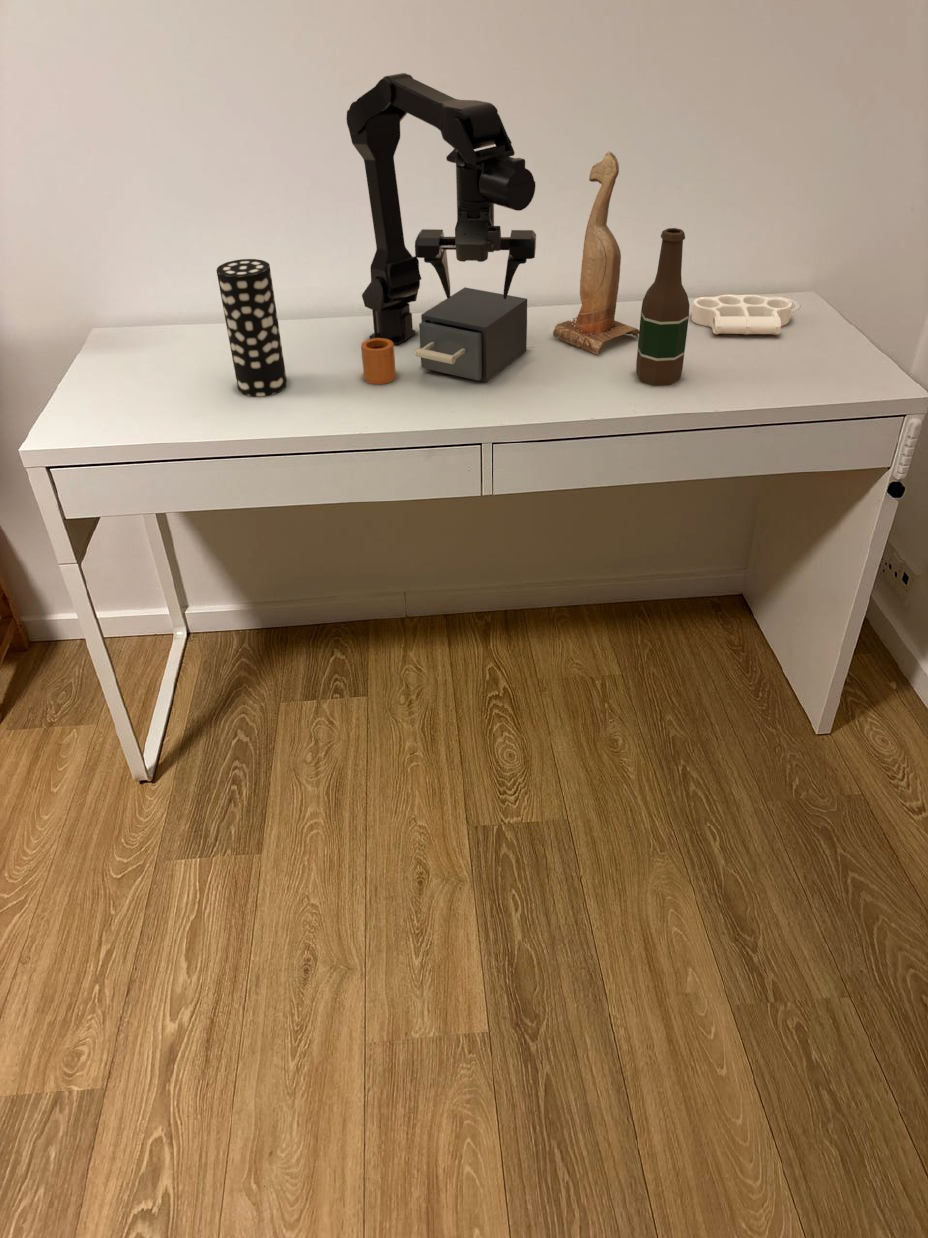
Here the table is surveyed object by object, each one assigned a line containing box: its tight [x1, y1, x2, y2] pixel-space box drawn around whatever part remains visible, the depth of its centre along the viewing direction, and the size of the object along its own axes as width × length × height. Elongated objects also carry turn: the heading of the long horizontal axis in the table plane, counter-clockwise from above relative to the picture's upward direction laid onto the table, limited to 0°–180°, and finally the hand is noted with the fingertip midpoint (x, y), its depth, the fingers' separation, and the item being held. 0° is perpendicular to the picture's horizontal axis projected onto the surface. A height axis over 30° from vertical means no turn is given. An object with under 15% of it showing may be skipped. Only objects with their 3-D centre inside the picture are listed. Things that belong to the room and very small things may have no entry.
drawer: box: [414, 321, 483, 382], centre depth 165 cm, size 18×11×8 cm, turn 150°
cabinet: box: [420, 286, 528, 383], centre depth 168 cm, size 15×13×10 cm
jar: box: [360, 338, 397, 385], centre depth 165 cm, size 5×5×6 cm
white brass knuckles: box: [691, 293, 793, 336], centre depth 180 cm, size 3×18×15 cm
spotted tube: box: [215, 258, 288, 397], centre depth 159 cm, size 8×8×20 cm
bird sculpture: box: [552, 150, 639, 355], centre depth 167 cm, size 11×12×32 cm
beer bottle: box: [635, 227, 691, 387], centre depth 156 cm, size 8×8×24 cm
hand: (476, 297), depth 157 cm, fingers open, 9 cm apart
